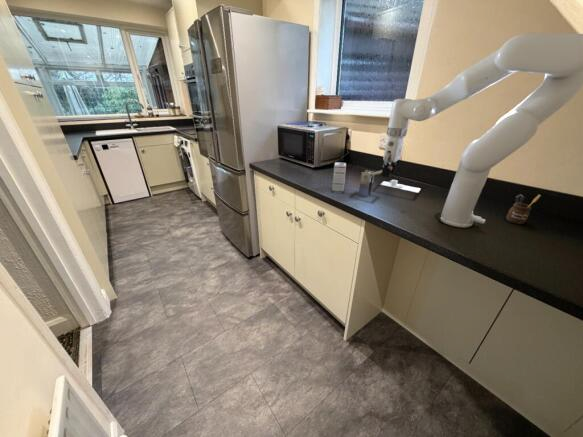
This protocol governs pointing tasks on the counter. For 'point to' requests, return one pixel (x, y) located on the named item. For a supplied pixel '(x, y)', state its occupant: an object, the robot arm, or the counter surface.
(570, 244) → the counter surface
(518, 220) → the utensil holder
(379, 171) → the lever
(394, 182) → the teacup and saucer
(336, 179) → the syrup box
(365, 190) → the bracket
